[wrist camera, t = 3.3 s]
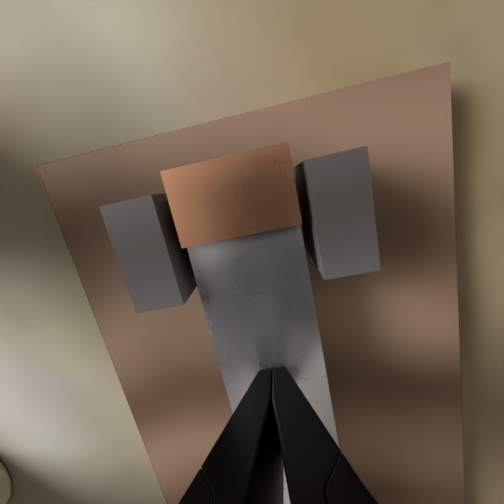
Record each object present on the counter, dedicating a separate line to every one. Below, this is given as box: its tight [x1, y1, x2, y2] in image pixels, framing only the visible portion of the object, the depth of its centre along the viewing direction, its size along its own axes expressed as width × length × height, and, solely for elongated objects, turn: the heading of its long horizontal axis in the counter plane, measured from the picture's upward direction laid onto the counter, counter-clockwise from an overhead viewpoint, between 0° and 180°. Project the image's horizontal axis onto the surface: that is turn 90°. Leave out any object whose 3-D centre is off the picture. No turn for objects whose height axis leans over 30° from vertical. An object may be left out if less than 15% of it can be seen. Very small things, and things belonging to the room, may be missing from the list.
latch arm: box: [160, 141, 339, 504], centre depth 9 cm, size 19×4×2 cm, turn 12°
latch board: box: [37, 62, 465, 504], centre depth 11 cm, size 22×14×4 cm, turn 12°
